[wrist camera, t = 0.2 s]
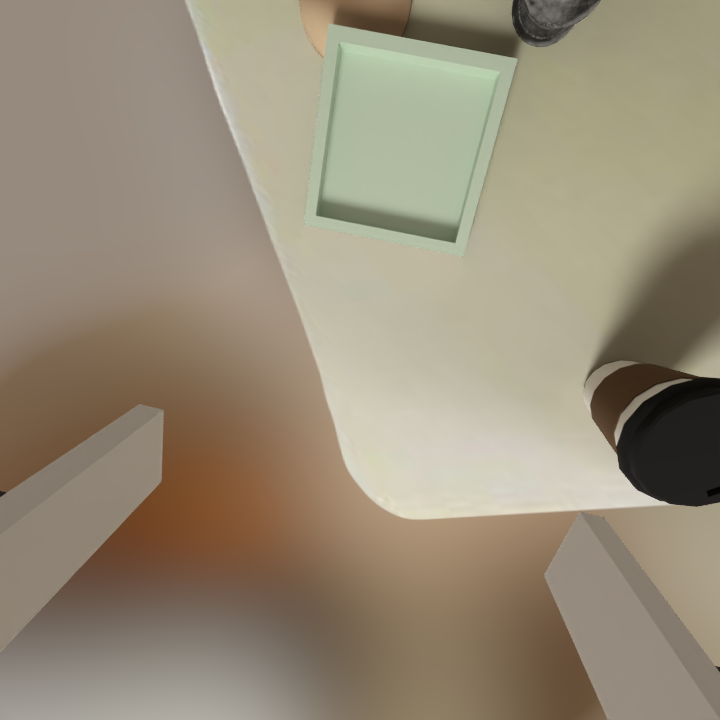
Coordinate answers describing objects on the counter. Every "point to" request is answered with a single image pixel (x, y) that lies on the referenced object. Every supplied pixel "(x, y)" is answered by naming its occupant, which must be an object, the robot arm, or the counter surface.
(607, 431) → the coffee cup
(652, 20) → the counter surface
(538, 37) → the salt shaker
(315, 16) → the cork coaster
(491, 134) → the tray
